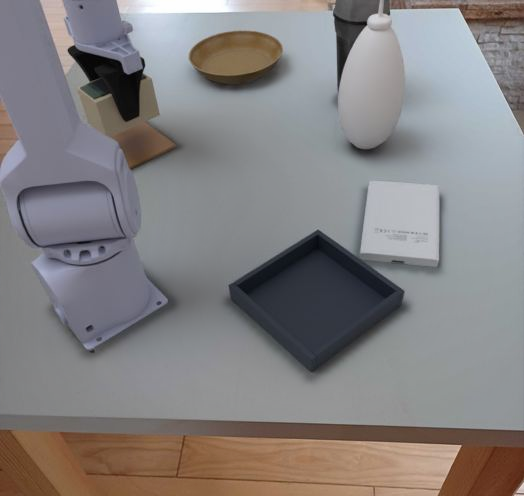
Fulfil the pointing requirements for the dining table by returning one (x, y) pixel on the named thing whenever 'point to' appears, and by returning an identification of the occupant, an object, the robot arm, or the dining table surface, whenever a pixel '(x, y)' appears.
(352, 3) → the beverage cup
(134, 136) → the coaster
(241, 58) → the plant saucer
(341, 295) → the tray
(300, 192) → the dining table surface
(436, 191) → the hard drive
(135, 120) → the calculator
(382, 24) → the sauce bottle
